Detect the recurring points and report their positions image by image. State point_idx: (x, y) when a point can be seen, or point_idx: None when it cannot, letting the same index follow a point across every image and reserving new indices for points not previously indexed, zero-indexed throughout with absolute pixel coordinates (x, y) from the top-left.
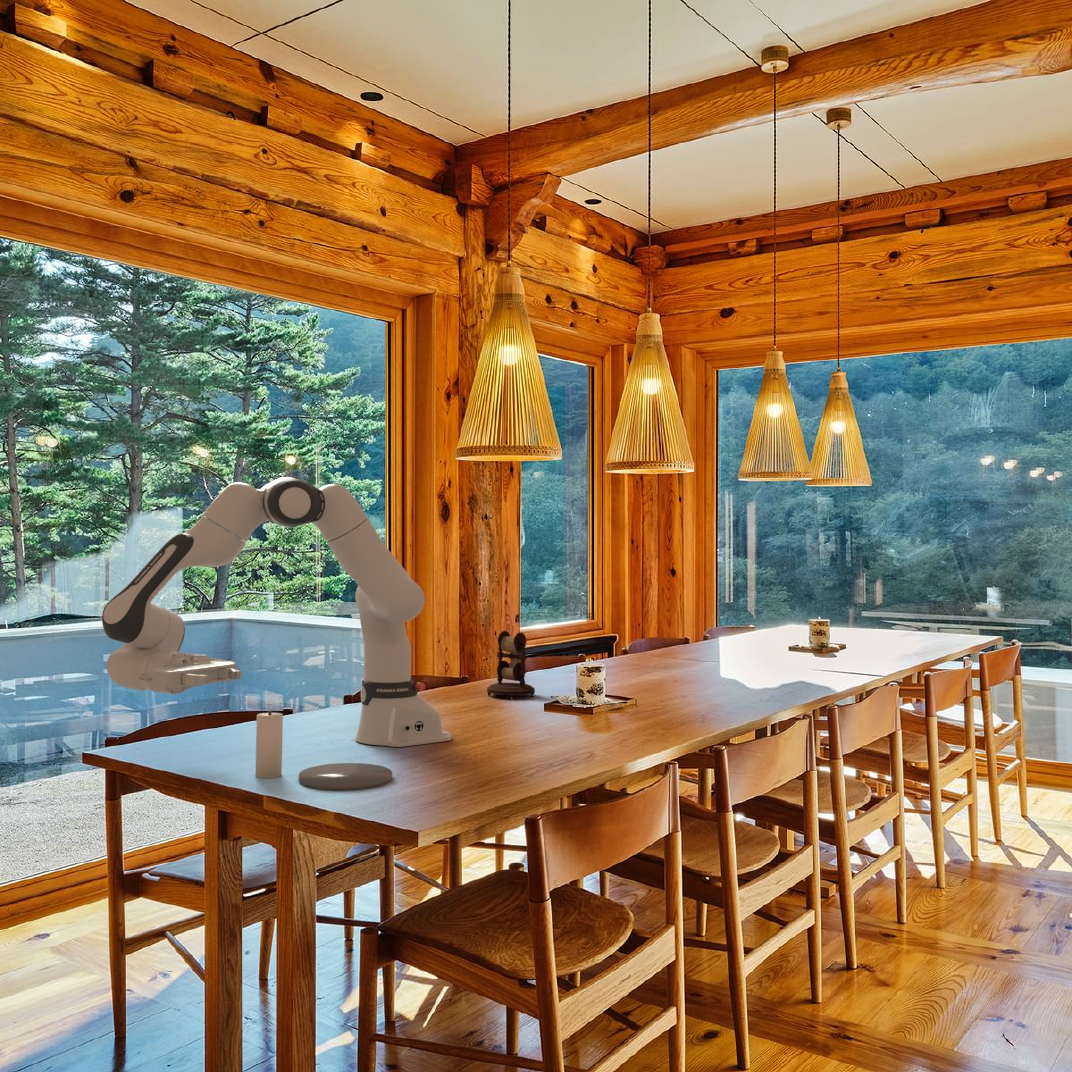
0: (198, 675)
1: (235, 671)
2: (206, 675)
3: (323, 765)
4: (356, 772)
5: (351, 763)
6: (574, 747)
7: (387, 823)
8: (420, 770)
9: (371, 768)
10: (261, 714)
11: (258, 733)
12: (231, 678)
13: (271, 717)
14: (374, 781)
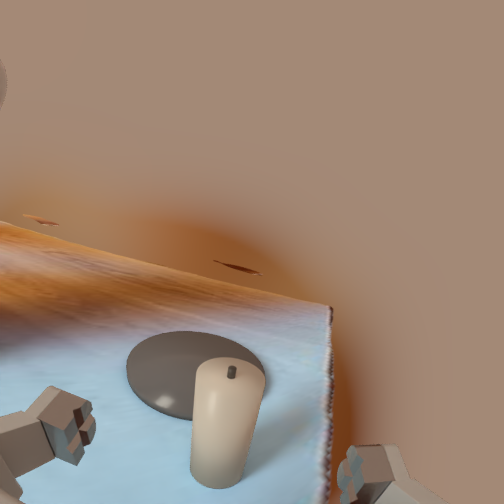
0: (405, 469)
1: (86, 401)
2: (365, 446)
3: (153, 398)
4: (187, 357)
5: (130, 370)
6: (26, 255)
7: (327, 318)
8: (123, 323)
9: (157, 348)
10: (236, 392)
11: (255, 420)
12: (81, 454)
13: (255, 367)
14: (224, 338)
